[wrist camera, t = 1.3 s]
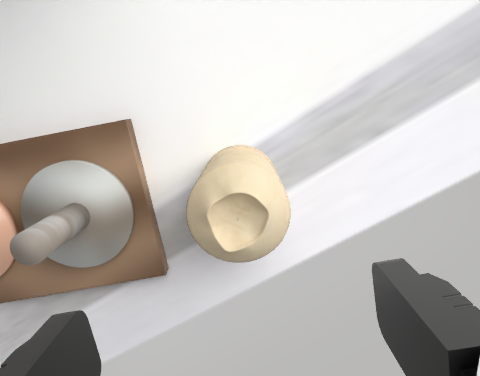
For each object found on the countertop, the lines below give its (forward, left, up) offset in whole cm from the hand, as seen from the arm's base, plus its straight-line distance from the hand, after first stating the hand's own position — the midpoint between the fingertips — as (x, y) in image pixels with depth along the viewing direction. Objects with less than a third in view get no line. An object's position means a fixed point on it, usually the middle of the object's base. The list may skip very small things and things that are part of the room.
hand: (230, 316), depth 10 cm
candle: (0, 0, -18) cm, 18 cm away
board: (0, -17, -18) cm, 25 cm away
